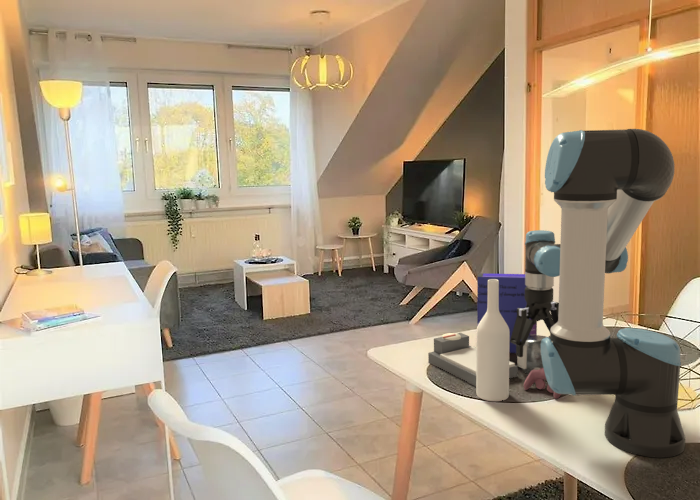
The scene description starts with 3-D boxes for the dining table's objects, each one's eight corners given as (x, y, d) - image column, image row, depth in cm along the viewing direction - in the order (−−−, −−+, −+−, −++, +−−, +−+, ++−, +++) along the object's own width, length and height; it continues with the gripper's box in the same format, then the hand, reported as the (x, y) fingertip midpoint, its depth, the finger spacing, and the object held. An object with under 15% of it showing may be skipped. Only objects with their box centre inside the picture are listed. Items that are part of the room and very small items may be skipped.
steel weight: (552, 376, 157) (553, 345, 156) (522, 374, 160) (522, 343, 158) (551, 366, 165) (552, 336, 163) (522, 364, 167) (523, 334, 166)
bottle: (488, 404, 142) (489, 285, 137) (470, 392, 149) (469, 278, 144) (515, 398, 145) (517, 281, 140) (496, 386, 152) (496, 275, 147)
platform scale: (517, 376, 158) (517, 349, 157) (477, 387, 152) (477, 359, 151) (464, 352, 178) (464, 328, 177) (426, 361, 172) (426, 336, 171)
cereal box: (535, 349, 179) (536, 273, 175) (536, 354, 175) (537, 277, 171) (477, 346, 184) (478, 272, 180) (477, 351, 179) (477, 275, 175)
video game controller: (564, 401, 145) (570, 374, 146) (556, 399, 142) (563, 371, 143) (528, 391, 152) (535, 365, 154) (520, 388, 149) (527, 362, 150)
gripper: (559, 278, 167) (557, 351, 171) (496, 290, 156) (496, 367, 160) (580, 283, 160) (577, 358, 164) (516, 295, 150) (515, 376, 153)
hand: (537, 363), depth 162 cm, fingers open, 11 cm apart
